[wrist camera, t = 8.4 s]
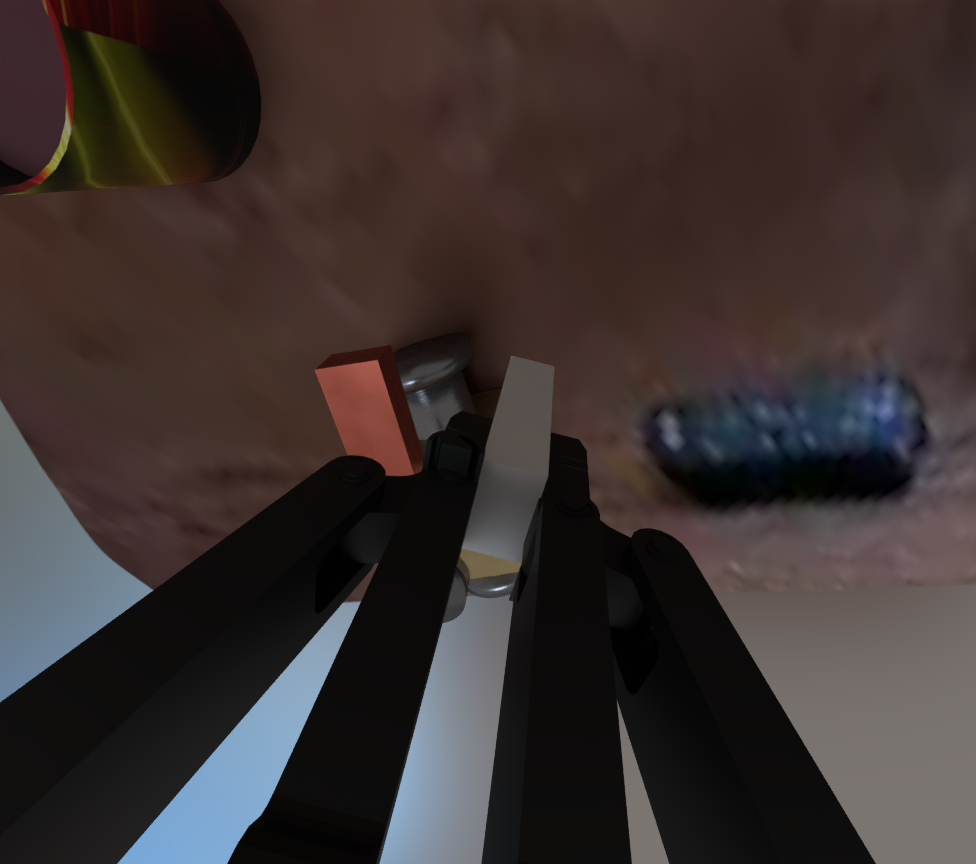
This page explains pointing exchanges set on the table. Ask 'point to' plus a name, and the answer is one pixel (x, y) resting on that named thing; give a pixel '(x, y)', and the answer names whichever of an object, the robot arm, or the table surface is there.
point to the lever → (380, 425)
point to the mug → (122, 94)
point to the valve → (432, 403)
